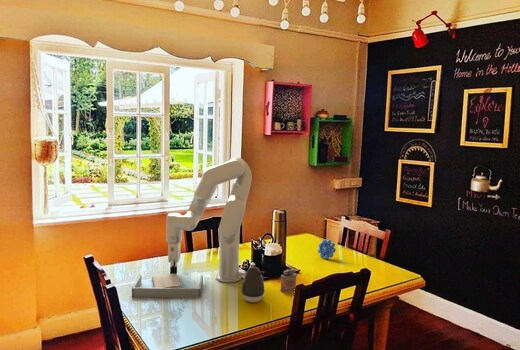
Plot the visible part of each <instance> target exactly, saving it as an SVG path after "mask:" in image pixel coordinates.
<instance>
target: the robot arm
mask: <svg viewBox="0 0 520 350" xmlns="http://www.w3.org/2000/svg"><path fill="white" fill-rule="evenodd" d="M252 174H253V173H252V170H251V168H250V166H249V164H248V163H247V162H246V161H245V160H244V159H243V158H241V157H237V156H236V157H235V156H234V157H231V159H229V160H228V161H226V162H223V163H221V164H218V165H209V166H208V167H207V168H206V169H204V171H203V173H202V177H201V179H200V181H199V183H198V185H197V187H196V189H195V191H194V194H193V198H192V201H191V204H190V205H189V207H188V209H187V211H186V213H185V214H184V215H182V214H181V213H179V212H169V213H167V214H166V219H165V222H166V224H165V225H166V227H165V229H166V230H165V231H166V232H165V241H166V243H168V244H167V245H168V247H167V248H168V249H167V262H168V263H170V267H169V270H170V271H169V274H177V275H178V263H179V262H180V260H181V243H182V240H183V231H189V232H190V231H193V230H194V229H195V228H197V226H198V224H199V222H200V220H201V219H202V216H203V214H204V212H205V210H206V208H207V206H208V204H209V203H210V202H211V200H212V198H213V196H214V194H215V192H216V190H217V188H218V186H219V185H221V184H224V183H227V182H229V181H232V180H233V183H232V187H231V190H230V193H229V196H228V199H227V200H226V203H225V205H224V208H223V212H222V216H221V219H220V222H219V226H218V235H219V253H218V254H219V257H218V258H219V259H218V260H219V261H218V273H216V274H215V279H216V281H218V282H222V283H227V284H229V283H236V282H239V281H241V279H242V276H244V277H245V274H246V272H247V271H246V270H244V269H243V270H241V269H240V267H239V262H240V261H239V260H240V238H241V237H240V236H241V226H242V222H243V219H244V216H245V212H246V208H247V207H246V206H247V201H248V198H249V193H250V188H251V186H252V181H253V180H252V179H253V177H252ZM182 230H183V231H182Z"/></svg>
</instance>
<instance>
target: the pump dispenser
mask: <svg viewBox="0 0 520 350" xmlns="http://www.w3.org/2000/svg"><path fill="white" fill-rule="evenodd" d="M245 272H246V274H245V276H244V277H243V279H242V285H241V290H240V291H241V295H242V297H243V299H244V300H245V301H246V302H249V303H258V302H260V301H261V300H262V299H263V298H264V297H263V296H264V295H265V291H266V290H265V281H264V279H263V277H264V276H263V274H265V271H264V270H261V271H260V268H258V267H256V266H250V267H249V268H248V269H247V271H245Z"/></svg>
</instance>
